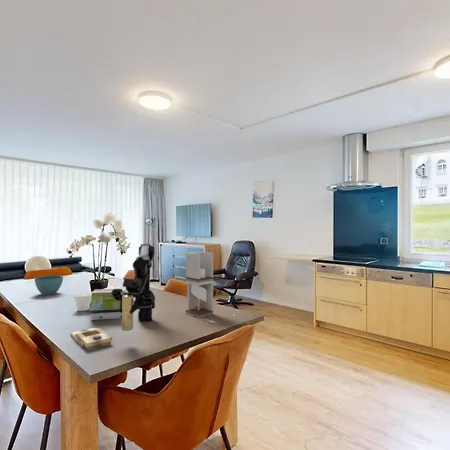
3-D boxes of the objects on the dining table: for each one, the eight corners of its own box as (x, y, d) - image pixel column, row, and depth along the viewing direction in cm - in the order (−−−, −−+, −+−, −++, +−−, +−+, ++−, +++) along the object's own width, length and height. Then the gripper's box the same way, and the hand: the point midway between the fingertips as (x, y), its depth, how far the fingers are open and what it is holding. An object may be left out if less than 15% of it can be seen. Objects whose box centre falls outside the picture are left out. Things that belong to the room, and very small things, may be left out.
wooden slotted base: (93, 331, 142) (93, 323, 142) (112, 344, 126) (112, 335, 126) (70, 336, 135) (70, 328, 135) (87, 350, 119) (87, 341, 119)
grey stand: (185, 313, 171) (186, 252, 172) (200, 310, 179) (200, 251, 179) (198, 318, 163) (198, 253, 164) (212, 314, 171) (213, 252, 171)
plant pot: (28, 295, 216) (28, 278, 216) (49, 290, 233) (50, 275, 233) (48, 297, 210) (48, 280, 211) (68, 292, 228) (68, 276, 228)
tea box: (90, 321, 158) (90, 292, 158) (93, 315, 167) (93, 289, 167) (120, 318, 162) (120, 291, 162) (121, 313, 171) (122, 287, 171)
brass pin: (132, 326, 129) (132, 294, 129) (133, 329, 125) (133, 296, 125) (121, 328, 127) (121, 295, 128) (122, 331, 123) (122, 297, 123)
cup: (84, 313, 172) (85, 296, 172) (69, 312, 174) (69, 296, 174) (95, 308, 182) (95, 293, 182) (81, 307, 184) (81, 292, 184)
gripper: (113, 270, 132) (97, 301, 121) (152, 271, 128) (139, 304, 117) (123, 284, 140) (109, 315, 129) (160, 286, 136) (148, 318, 125)
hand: (125, 313), depth 125 cm, fingers closed on brass pin, 4 cm apart
